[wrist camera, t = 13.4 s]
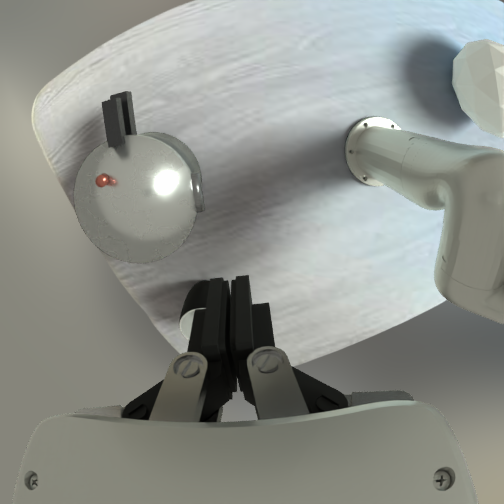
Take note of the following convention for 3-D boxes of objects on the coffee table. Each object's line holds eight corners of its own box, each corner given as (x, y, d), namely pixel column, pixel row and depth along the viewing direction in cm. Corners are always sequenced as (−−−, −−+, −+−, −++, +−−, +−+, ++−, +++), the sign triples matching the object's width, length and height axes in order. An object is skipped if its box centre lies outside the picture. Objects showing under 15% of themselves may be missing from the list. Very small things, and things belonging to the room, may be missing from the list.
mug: (180, 278, 54) (171, 311, 45) (225, 271, 54) (225, 304, 45) (196, 323, 59) (192, 358, 51) (236, 318, 59) (238, 353, 50)
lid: (188, 83, 29) (185, 81, 27) (212, 251, 40) (211, 259, 38) (60, 119, 29) (51, 120, 27) (97, 264, 40) (91, 272, 38)
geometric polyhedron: (431, 72, 42) (445, 13, 24) (499, 78, 35) (526, 30, 16) (456, 150, 42) (492, 106, 23) (526, 152, 34) (571, 119, 16)
